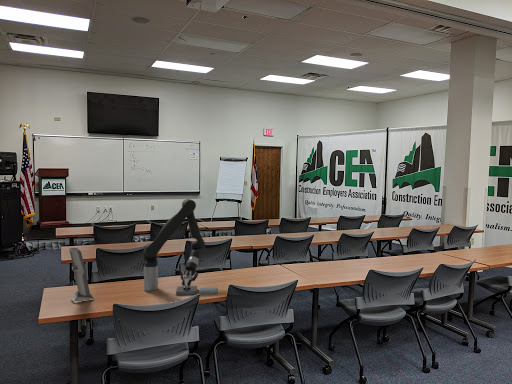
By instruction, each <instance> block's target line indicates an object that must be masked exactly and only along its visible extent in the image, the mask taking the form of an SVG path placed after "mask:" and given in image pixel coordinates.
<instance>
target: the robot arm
mask: <svg viewBox="0 0 512 384" xmlns="http://www.w3.org/2000/svg"><path fill="white" fill-rule="evenodd" d="M196 208H197V203H196V201H194V199H190V198H186V199H184V200H183V201H182V203H181V208H180V209H179V211H178V212H177V213H175V214H174V215H173V216H172V217H171V218H169V219H168V220H167V221H166V223H164V225H162V227H161V229H160V231H159V233H158V235H157V236H156V238H155V239H154V240H153V241H152V242H149V243H146V244H145V245H144V247H143V263H144V264H143V266H144V277H143V287H144V288H143V291H145V292H146V291H147V292H154V291H156V290H158V289H159V273H158V271H159V269H158V268H159V267H158V266H159V264H158V256H157V255H158V254H159V252H160V250H161V249H162V248H163V247H164V245H165V244H166V243H167V241H169V240H170V238H171V237H172V236H173V235H174V234H175V232H176V231H178V229H179V228H180V227H181V225H182V224H183V223H184V221H185V220H187V225H188V228H189V233H190V236H191V239H194V241H192V242H191V244H190V254H189V258H188V259H187V262H186V265H185V270H183V271H180V272H179V273H180V274H179V275H180V280H181V285H182V286H184V275H189V282H188V286H192V282H195V281H196V279H197V278H198V277H199V273H198V272H196V271H197V268H198V265H199V261H200V260H199V259H200V256H201V252H199V251H203V250H205V248H206V243H205V240H204V239H203V236H202V235H201V232H200V231H201V230H200V228H199V224H198V222H197V219H196V216H195V212H194V211H195V210H196Z"/></svg>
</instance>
